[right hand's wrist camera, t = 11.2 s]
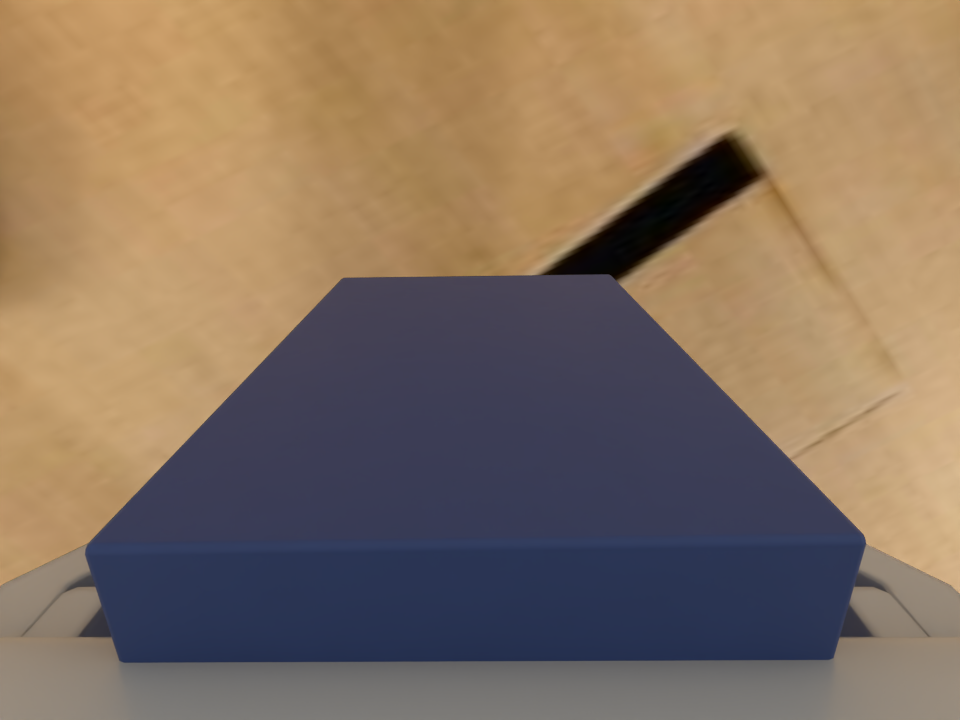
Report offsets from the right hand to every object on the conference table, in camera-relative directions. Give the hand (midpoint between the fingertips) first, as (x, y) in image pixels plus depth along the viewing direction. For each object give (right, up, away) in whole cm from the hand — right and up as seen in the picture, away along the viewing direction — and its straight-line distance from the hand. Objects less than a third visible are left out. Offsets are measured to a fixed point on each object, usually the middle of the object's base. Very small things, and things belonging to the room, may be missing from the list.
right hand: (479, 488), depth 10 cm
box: (0, -8, +8) cm, 11 cm away
